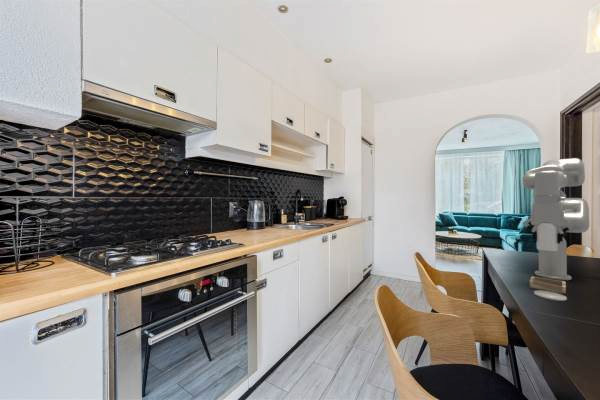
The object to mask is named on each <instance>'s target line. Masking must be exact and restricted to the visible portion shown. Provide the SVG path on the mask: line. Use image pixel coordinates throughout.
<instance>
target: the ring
mask: <svg viewBox="0 0 600 400" xmlns="http://www.w3.org/2000/svg"><path fill="white" fill-rule="evenodd" d="M529 288H531V289H537V290H541V291H549V292H554V293H558V294H562V295H563V294H564V295H566V293H567V284H566V280H556V279H550V278H545V277H540V276H532V275H531V277H530V279H529Z"/></svg>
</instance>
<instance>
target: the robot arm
mask: <svg viewBox="0 0 600 400" xmlns="http://www.w3.org/2000/svg"><path fill="white" fill-rule="evenodd" d="M585 170H586V169H585V164H584V162H583V160H582V159H580V158H579V157H572V158H571V157H570V158H562V159H561V158H560V159H559V158H557V159H551V160H547V161H546V162H545V163H543V164H542V166H539V167H537V168H532V169H529V170H527V171H525V173H524V175H523V176H522V177H523V178H522V186H523V187H524V188H525V189H527V190H534V203H532V205H531V211H530V217H529V218H527V219H526V220H524V221H523V222H522V225H523V226H525V227H526V228H527V229H528V230H530V232H532V240H534V242H536V241H537V233H536V229H537V226H539V225H540V224H542V222H545V223H551V224H552V225H553V226H555V227H556V228H557V230H558V251H557V252H548V251H540V250H538V270H535V271H534V274H535V275H536V276H537V277H540V278H546V279H552V280H558V281H570V280H572V276H571V275H569V274H568V273H567V272H568V270H567V268H568V267H567V261H568V260H567V258H568V257H567V255H568V254H567V241H566V239H565V238H564V237H563V234H565V233H575V234H578V233H585V232H587V231H588V230H589V228H590V207H589V203H588V201H587V200H585V198H582V197H581V198H580V197H567V194H566V193H565V192H564V191H562V190H561V188H564V187H566V188H567V187H579V186H582V185H583V184H584V183H585V181H586V174H585V173H586V172H585ZM529 223H530V224H531V225H532V226H531V225H530V224H529ZM536 243H537V242H536Z"/></svg>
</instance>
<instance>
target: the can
mask: <svg viewBox="0 0 600 400" xmlns="http://www.w3.org/2000/svg"><path fill="white" fill-rule="evenodd" d="M536 233H537V241H536V250H538V251H539V250H540V251H548V252H557V251H558V230H557V228H556V227H555V226H553V225H552V224H551V223H545V222H542V224H540V225H539V226H537V229H536Z"/></svg>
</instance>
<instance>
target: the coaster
mask: <svg viewBox="0 0 600 400" xmlns="http://www.w3.org/2000/svg"><path fill="white" fill-rule="evenodd" d="M533 294H534V295H535V296H537V297H539V298H543V299H546V300H551V301H560V302H565V301H567V300H568V298H567V297H568V296H565V294H564V295H563V294H562V293H558V292H552V291H547V290H541V289H537V290H534V291H533Z"/></svg>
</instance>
